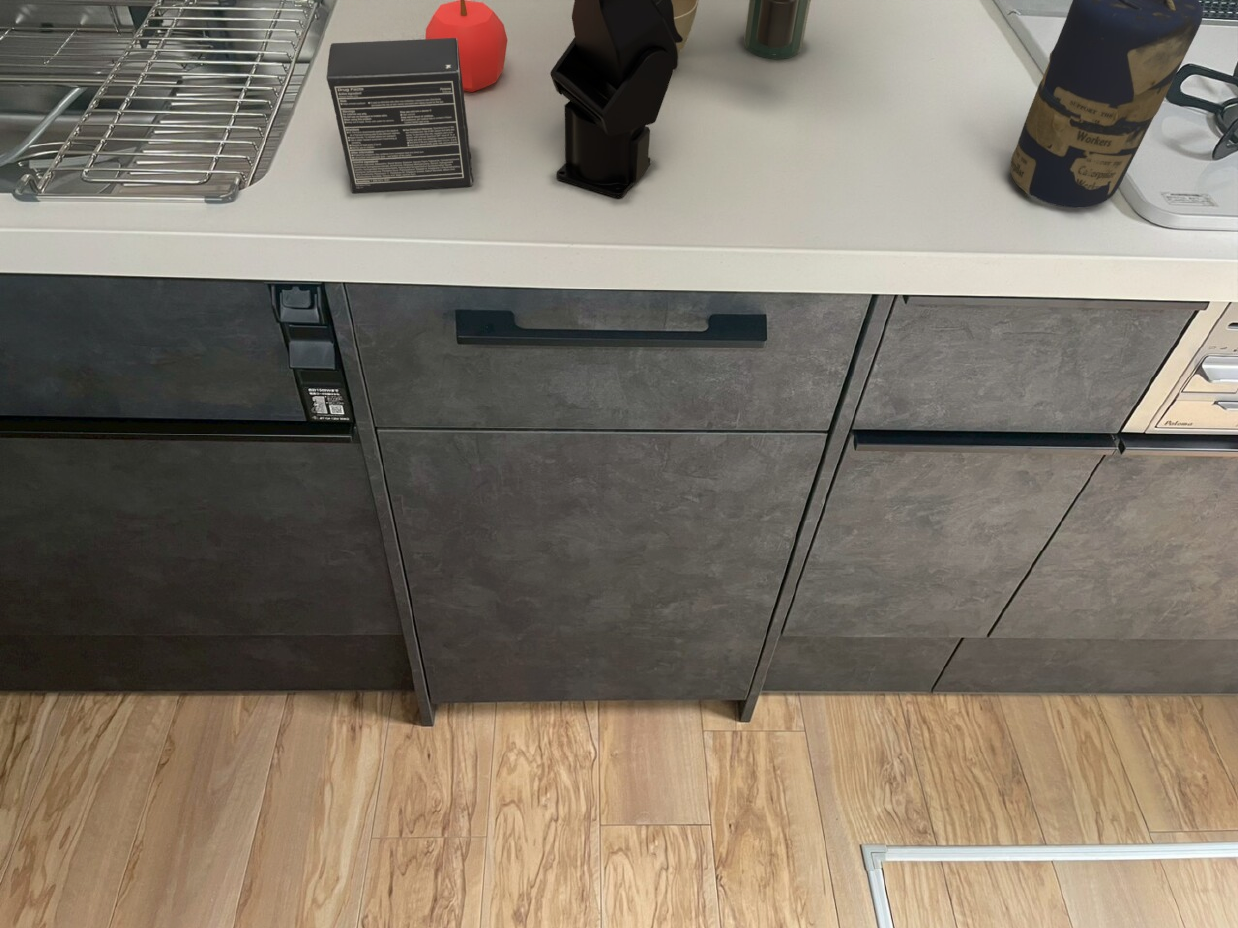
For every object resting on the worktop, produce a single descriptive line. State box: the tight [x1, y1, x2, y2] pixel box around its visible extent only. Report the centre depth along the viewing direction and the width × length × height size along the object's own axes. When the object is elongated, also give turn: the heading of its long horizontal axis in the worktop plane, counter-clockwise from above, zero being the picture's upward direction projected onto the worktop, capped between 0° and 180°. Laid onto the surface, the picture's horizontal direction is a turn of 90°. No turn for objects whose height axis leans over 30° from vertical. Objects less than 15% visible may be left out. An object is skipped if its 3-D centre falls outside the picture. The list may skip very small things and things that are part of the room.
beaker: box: [743, 0, 812, 60], centre depth 98 cm, size 6×6×6 cm
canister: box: [1009, 0, 1204, 209], centre depth 78 cm, size 10×10×18 cm
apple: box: [424, 0, 509, 93], centre depth 91 cm, size 8×8×8 cm
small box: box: [325, 38, 474, 194], centre depth 79 cm, size 11×6×10 cm, turn 98°
